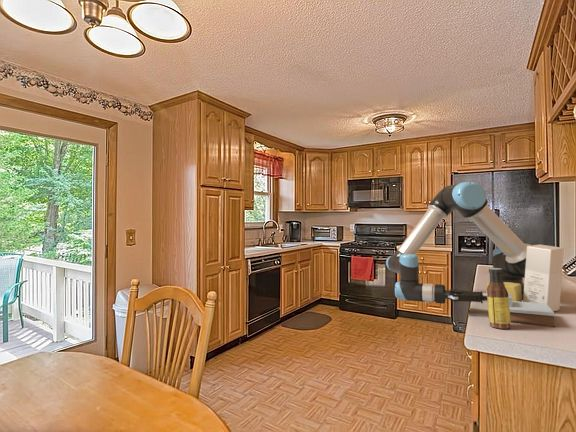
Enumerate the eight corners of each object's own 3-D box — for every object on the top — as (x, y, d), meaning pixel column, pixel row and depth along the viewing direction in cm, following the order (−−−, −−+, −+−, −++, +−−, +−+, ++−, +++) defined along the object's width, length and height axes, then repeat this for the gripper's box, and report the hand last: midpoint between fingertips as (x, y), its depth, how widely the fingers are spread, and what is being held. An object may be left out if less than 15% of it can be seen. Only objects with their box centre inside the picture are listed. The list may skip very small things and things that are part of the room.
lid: (505, 302, 131) (504, 292, 131) (546, 306, 124) (545, 295, 124) (508, 311, 118) (508, 300, 118) (554, 316, 111) (554, 303, 112)
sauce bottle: (514, 327, 112) (512, 268, 112) (504, 331, 109) (502, 270, 109) (494, 323, 118) (492, 266, 118) (484, 326, 114) (482, 268, 115)
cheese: (494, 303, 146) (493, 280, 146) (523, 307, 138) (522, 283, 138) (486, 307, 139) (485, 283, 140) (516, 312, 131) (515, 286, 132)
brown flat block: (505, 312, 130) (505, 303, 130) (547, 316, 124) (546, 307, 124) (508, 322, 118) (508, 312, 118) (554, 327, 112) (554, 316, 112)
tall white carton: (559, 310, 132) (564, 247, 129) (546, 313, 128) (551, 250, 125) (535, 302, 139) (539, 244, 137) (522, 306, 136) (526, 246, 133)
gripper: (436, 299, 142) (502, 305, 130) (433, 306, 130) (504, 313, 119) (435, 281, 142) (501, 285, 130) (432, 287, 131) (503, 291, 119)
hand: (502, 298), depth 125 cm, fingers closed
